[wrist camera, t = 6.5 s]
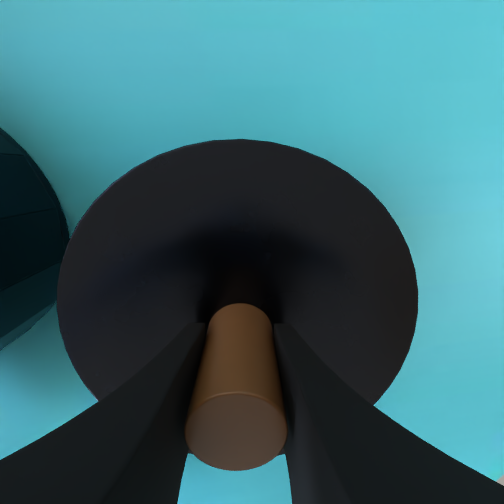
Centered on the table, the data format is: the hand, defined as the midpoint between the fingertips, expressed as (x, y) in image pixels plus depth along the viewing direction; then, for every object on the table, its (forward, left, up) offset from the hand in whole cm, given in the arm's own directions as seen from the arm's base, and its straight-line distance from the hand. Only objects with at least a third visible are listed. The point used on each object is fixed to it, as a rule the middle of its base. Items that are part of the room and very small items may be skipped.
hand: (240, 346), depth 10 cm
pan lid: (0, 0, -1) cm, 1 cm away
